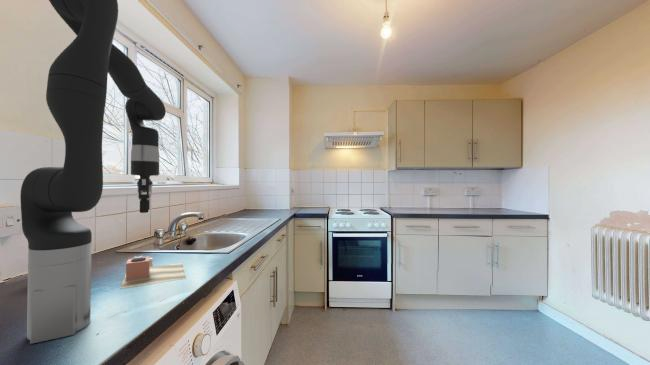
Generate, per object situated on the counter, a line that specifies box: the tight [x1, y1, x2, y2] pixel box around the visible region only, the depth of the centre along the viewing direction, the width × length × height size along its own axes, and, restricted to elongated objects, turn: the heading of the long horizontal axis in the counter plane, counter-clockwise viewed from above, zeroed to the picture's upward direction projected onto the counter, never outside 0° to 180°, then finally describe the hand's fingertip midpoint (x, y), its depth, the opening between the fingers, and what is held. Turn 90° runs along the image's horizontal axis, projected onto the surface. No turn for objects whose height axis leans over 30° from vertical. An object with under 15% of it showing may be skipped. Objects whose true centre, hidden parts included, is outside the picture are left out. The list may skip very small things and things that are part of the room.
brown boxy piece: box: [125, 256, 153, 281], centre depth 82 cm, size 6×6×5 cm
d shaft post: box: [132, 255, 144, 262], centre depth 82 cm, size 2×2×7 cm
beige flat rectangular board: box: [119, 262, 187, 289], centre depth 84 cm, size 18×16×1 cm
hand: (144, 211), depth 85 cm, fingers open, 8 cm apart
